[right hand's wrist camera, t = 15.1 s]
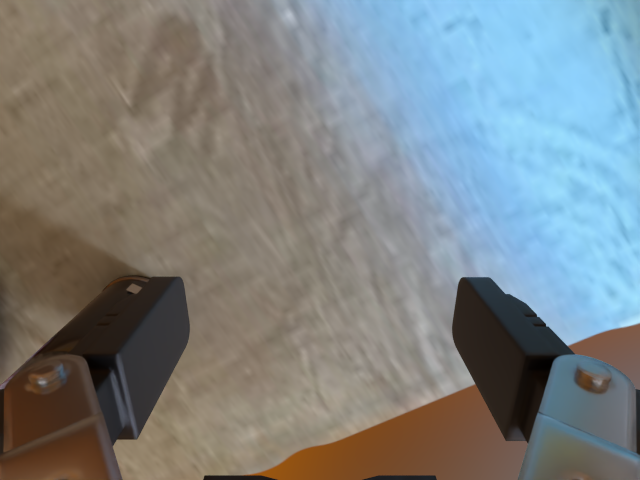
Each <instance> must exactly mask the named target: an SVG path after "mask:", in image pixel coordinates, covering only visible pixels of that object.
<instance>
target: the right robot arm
mask: <svg viewBox="0 0 640 480" xmlns="http://www.w3.org/2000/svg"><path fill="white" fill-rule="evenodd" d="M189 332H190V324H189V317H188V310H187V303H186V296H185V289H184V283H183V280H182V278H181V277H152V278H151V279H148V278H145V277H140V276H126V277H121V278H119V279H116V280H114V281H113V282H111V283H110V284H109V285H108V286H107V287H106V288H105V289H104V290H103V291H102V293H100V294H99V295H98V296H97V297H96V298H95V299H94V300H93V301H91V302H90V303H89V304H88V305H87V306H86V307H85V308H84V309H83V310H82V311H81V312H79V313H78V314H77V315H76V316H75V317H74V318H73V319H72V320H71V321H70V322H69V323H67V324H66V325H65V326H64V327H63V328H62V329H61V330H60V331H59V332H58V333H57V334H55V335H54V336H53V337H52V338H51V339H50V340H49V341H48V342H47V343H46V344H45V345H43V346H42V347H41V348H40V349H39V350H38V351H37V352H36V353H35V354H34V355H33V356H31V357H30V358H29V359H28V360H27V361H26V362H25V363H24V364H23V365H22V366H21V367H20V368H19V369H18V370H16V371H15V372H14V373H13V374H12V375H11V376H10V377H9V378H8V379H7V380H6V381H4V382H3V383H2V384H1V385H0V480H122V477H121V473H120V470H119V467H118V463H117V460H116V456H115V453H114V450H113V445H114V443H115V442H116V440H117V439H137V438H138V437H139V435H140V433H141V431H142V429H143V427H144V425H145V423H146V421H147V419H148V418H149V416H150V414H151V412H152V410H153V408H154V406H155V404H156V402H157V400H158V399H159V397H160V395H161V393H162V391H163V389H164V387H165V385H166V383H167V382H168V380H169V378H170V376H171V374H172V372H173V370H174V368H175V366H176V364H177V363H178V361H179V359H180V357H181V355H182V353H183V351H184V349H185V347H186V345H187V343H188V339H189ZM452 333H453V340H454V343H455V346H456V348H457V350H458V352H459V354H460V355H461V357H462V359H463V361H464V363H465V365H466V367H467V369H468V370H469V372H470V374H471V376H472V378H473V380H474V382H475V384H476V385H477V387H478V389H479V391H480V393H481V395H482V397H483V399H484V401H485V402H486V404H487V406H488V408H489V410H490V412H491V413H492V416H493V417H494V419H495V421H496V423H497V425H498V427H499V429H500V430H501V432H502V434H503V436H504V438H505V440H506V441H527V443H528V446H527V450H526V453H525V456H524V460H523V463H522V467H521V470H520V473H519V477H518V480H640V390H637V389H635V387H634V385H633V383H632V382H631V380H630V379H629V378H628V377H627V376H626V375H625V374H623V373H622V372H621V371H619V370H618V369H616V368H614V367H613V366H611V365H609V364H607V363H605V362H602V361H600V360H597V359H594V358H591V357H587V356H582V355H575V354H574V353H573V351H572V350H571V349H570V348H569V347H568V346H567V345H566V344H565V343H564V342H563V341H562V340H561V339H560V338H559V337H558V336H557V335H556V334H555V333H554V332H553V331H552V330H551V329H550V328H549V327H546V324H545V323H544V322H543V321H542V320H541V319H540V318H539V317H537V314H536V313H535V312H534V311H533V310H532V309H531V308H530V307H529V306H528V305H527V304H526V303H524V302H522V301H520V300H519V299H517V298H515V297H513V296H512V295H510V294H505V293H504V292H503V291H502V290H501V289H500V288H499V287H498V286H497V284H496V283H495V282H494V281H493V280H492V279H491V278H489V277H463V278H461V279H460V281H459V284H458V290H457V297H456V304H455V310H454V317H453V325H452ZM203 480H276V479H272V478H269V477H265V476H204V479H203ZM364 480H437V479H436V476H375V477H371V478H368V479H364Z"/></svg>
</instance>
